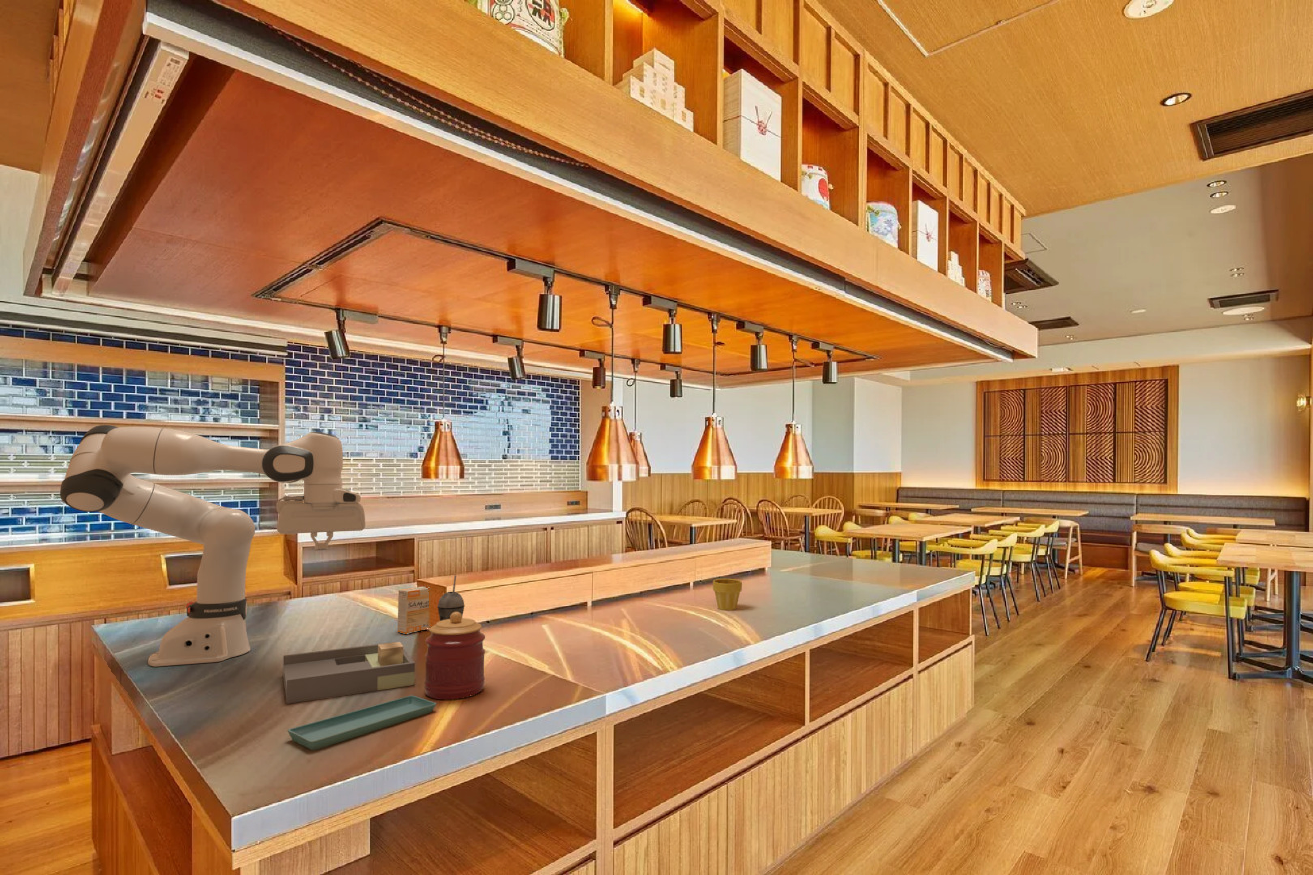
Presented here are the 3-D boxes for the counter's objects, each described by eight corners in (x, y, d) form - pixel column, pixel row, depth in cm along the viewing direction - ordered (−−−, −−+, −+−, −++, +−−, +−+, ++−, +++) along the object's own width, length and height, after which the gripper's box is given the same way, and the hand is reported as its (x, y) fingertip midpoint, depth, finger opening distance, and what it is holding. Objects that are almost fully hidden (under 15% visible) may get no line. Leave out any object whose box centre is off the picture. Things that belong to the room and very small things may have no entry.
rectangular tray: (411, 704, 147) (411, 692, 147) (437, 713, 142) (437, 701, 142) (285, 743, 126) (285, 729, 126) (310, 756, 121) (310, 741, 121)
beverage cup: (431, 648, 190) (432, 575, 191) (455, 643, 195) (456, 572, 196) (445, 653, 185) (446, 578, 186) (469, 648, 191) (470, 575, 191)
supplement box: (406, 635, 205) (406, 591, 205) (396, 633, 208) (397, 589, 208) (430, 630, 211) (430, 587, 212) (420, 628, 214) (421, 585, 215)
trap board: (286, 704, 146) (287, 680, 146) (282, 676, 164) (283, 655, 165) (414, 684, 159) (414, 662, 159) (397, 661, 178) (397, 641, 178)
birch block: (380, 666, 163) (381, 649, 163) (377, 661, 167) (378, 644, 167) (403, 663, 165) (403, 646, 166) (399, 658, 170) (399, 642, 170)
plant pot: (743, 611, 240) (743, 583, 241) (713, 611, 240) (713, 583, 241) (740, 605, 251) (740, 578, 251) (711, 605, 251) (711, 578, 251)
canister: (427, 704, 146) (428, 620, 147) (421, 686, 158) (423, 608, 158) (489, 696, 151) (490, 615, 152) (479, 679, 163) (480, 604, 164)
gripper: (277, 496, 168) (275, 553, 167) (367, 495, 178) (365, 549, 177) (276, 495, 173) (274, 551, 172) (363, 494, 183) (362, 546, 183)
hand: (321, 550), depth 175 cm, fingers closed
